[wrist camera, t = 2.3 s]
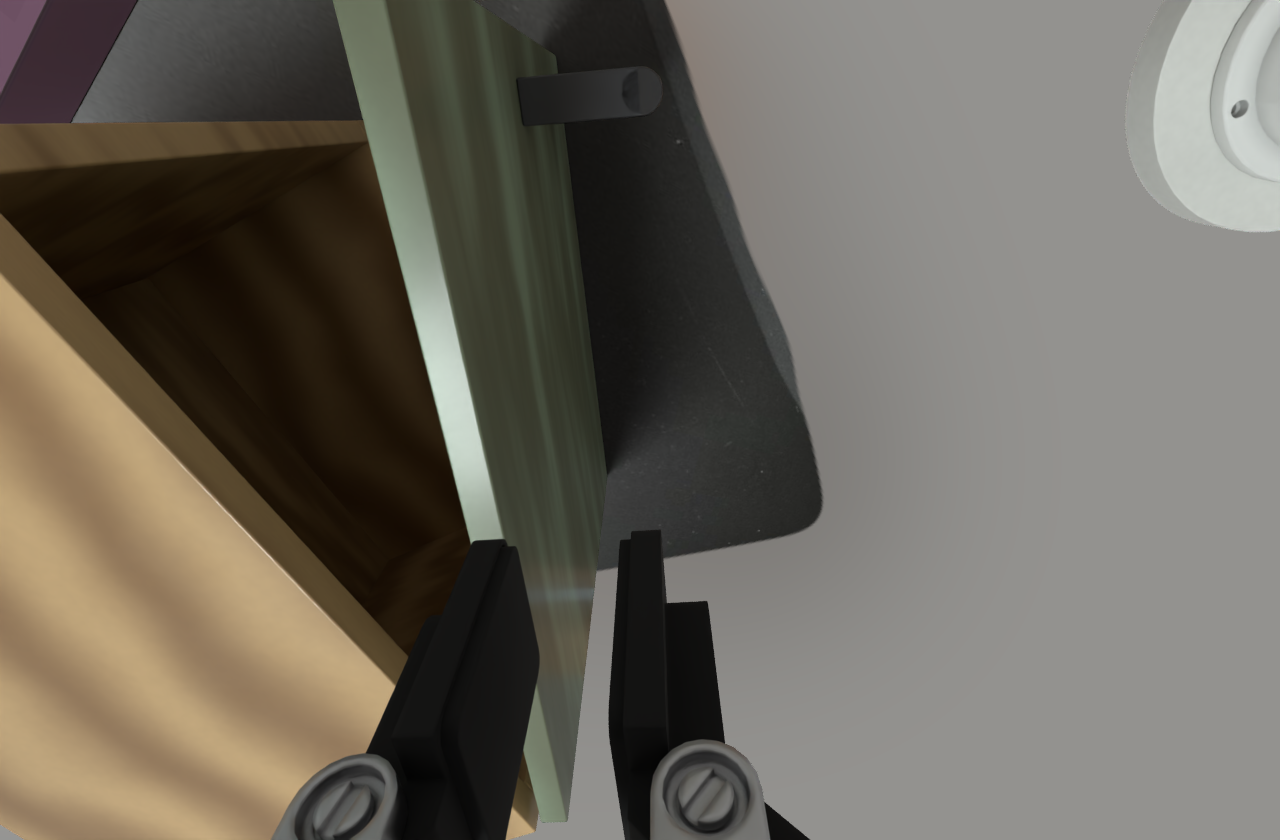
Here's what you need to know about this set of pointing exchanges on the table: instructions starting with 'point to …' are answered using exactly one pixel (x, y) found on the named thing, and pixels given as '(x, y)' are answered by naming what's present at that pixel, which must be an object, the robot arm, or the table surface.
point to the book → (53, 54)
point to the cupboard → (206, 475)
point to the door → (501, 302)
